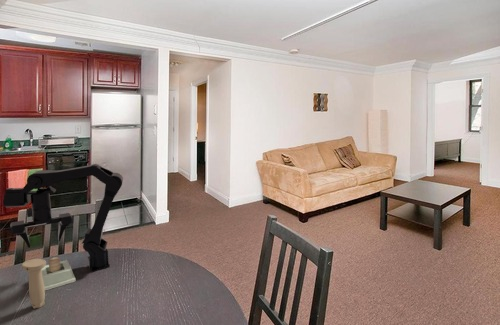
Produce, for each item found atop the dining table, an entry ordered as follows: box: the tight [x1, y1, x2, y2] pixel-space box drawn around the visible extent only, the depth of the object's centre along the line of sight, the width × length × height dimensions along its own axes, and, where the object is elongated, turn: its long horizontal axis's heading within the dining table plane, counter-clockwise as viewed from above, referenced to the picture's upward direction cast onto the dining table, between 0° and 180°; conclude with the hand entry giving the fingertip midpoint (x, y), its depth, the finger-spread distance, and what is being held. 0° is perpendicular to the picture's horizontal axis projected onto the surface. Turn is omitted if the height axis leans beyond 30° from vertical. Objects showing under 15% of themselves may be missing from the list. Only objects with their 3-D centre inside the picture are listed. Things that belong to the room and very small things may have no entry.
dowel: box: [48, 256, 61, 273], centre depth 106 cm, size 3×3×8 cm
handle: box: [21, 258, 47, 309], centre depth 91 cm, size 5×6×15 cm
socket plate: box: [42, 259, 77, 291], centre depth 106 cm, size 11×11×4 cm
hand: (44, 244), depth 109 cm, fingers open, 9 cm apart
